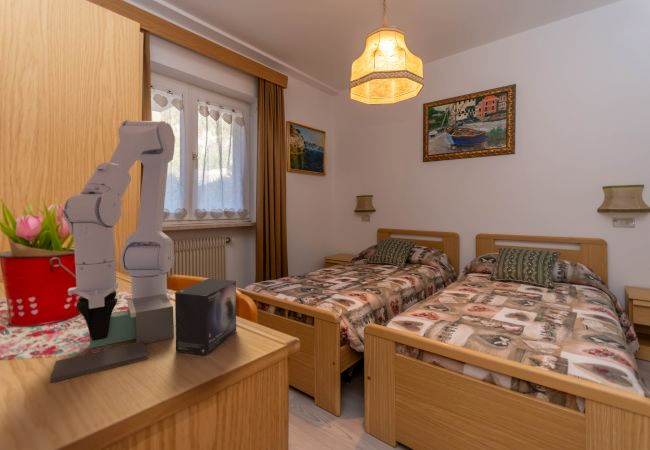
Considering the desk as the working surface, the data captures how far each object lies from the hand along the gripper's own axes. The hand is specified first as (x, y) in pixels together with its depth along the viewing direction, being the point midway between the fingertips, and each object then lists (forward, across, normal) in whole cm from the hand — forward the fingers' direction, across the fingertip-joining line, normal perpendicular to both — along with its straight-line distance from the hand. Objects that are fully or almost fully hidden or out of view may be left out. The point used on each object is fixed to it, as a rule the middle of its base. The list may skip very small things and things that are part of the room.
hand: (99, 335), depth 56 cm
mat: (+1, +8, 0) cm, 8 cm away
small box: (+2, +10, +16) cm, 19 cm away
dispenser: (+1, 0, +8) cm, 9 cm away
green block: (+1, 0, +4) cm, 4 cm away
